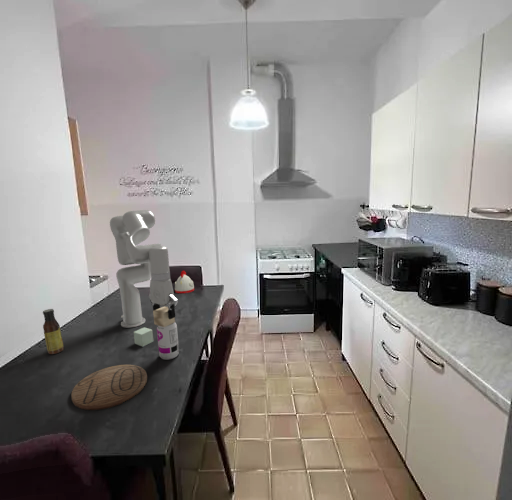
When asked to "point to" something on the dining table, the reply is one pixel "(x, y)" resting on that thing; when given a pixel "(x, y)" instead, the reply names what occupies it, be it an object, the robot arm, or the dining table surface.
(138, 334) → the sage cube
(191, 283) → the white and red dome
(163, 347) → the supplement can
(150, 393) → the dining table surface
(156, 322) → the beech cube
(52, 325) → the sauce bottle
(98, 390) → the trivet
